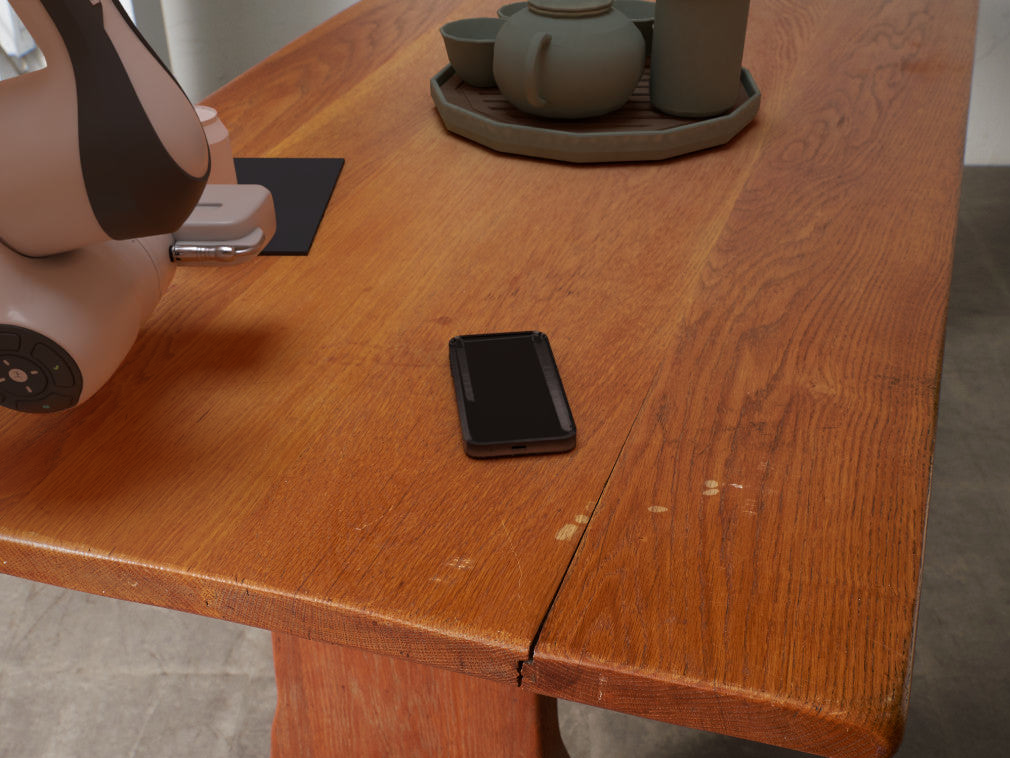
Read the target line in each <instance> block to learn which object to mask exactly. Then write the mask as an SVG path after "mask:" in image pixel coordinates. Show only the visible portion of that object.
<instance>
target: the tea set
mask: <svg viewBox="0 0 1010 758" xmlns="http://www.w3.org/2000/svg"><path fill="white" fill-rule="evenodd" d="M750 4H751V0H655V1H649V0H525V1H516V2H512V3H508V4H504V5H502V6H501V7H500V8H498V9H497V10H496V15H497V17H489V16H487V17H484V16H481V17H470V18H469V17H468V18H461V19H458V20H454V21H450V22H446V23H445V24H444V25H442V26H441V27H439V29H438V31H439V33H440V35H441V37H442V39H443V43H444V47H445V50H446V54H447V58H448V63H447V64H446V65H445V66H444V67H442V68H441V69H440V70H439V71H438V72H436V73H435V75H433V76H432V77H431V78H430V79H429V88H430V90H429V92H430V97H431V99H432V101H433V104H434V105H435V107H436V109H437V111H438V113H439V116H440V117H441V120H442V122H443V124H444V126H445V128H446V130H447V131H450V132H453V133H454V134H456V135H459V136H462V137H464V138H466V139H469V140H471V141H474V142H476V143H477V144H480V145H483V146H485V147H487V148H489V149H492V150H495V151H497V152H501V153H508V154H513V155H521V156H528V157H535V158H541V159H547V160H556V161H563V162H567V163H568V162H569V163H574V164H575V163H577V164H582V163H583V164H587V163H611V162H612V163H614V162H637V161H639V162H642V161H643V162H644V161H661V160H666V159H669V158H673V157H677V156H681V155H684V154H688V153H693V152H696V151H701V150H704V149H708V148H713V147H717V146H720V145H721V146H722V145H725V144H727V143H728V142H729V141H730V140H732V139H733V138H734V137H735V136H736V135H737V134H739V132H741V131H742V130H743V129H744V128H746V127H747V126H748V125H749V124H750V123H751V122H752V121H754V119H755V118H756V117H757V114H758V113H759V111H760V107H761V100H762V92H761V90H760V89H759V86H758V85H757V83H756V81H755V79H754V76H753V75H752V73H751V71H750V70H749V69H748V68H746V67H743V58H744V51H745V44H746V43H745V42H746V36H747V28H748V21H749V12H750V6H751V5H750Z"/></svg>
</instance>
